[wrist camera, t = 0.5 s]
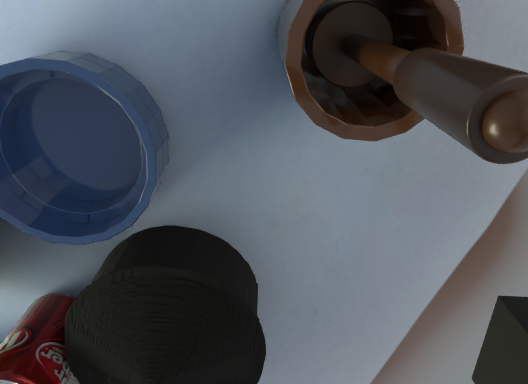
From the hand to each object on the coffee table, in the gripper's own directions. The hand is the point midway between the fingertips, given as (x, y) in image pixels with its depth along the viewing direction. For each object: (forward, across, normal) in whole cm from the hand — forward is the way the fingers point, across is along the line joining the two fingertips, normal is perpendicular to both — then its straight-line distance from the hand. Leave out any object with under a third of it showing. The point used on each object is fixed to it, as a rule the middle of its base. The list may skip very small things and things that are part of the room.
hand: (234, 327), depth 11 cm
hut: (+30, -7, -22) cm, 38 cm away
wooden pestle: (+21, +6, +6) cm, 23 cm away
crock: (+30, +6, +6) cm, 31 cm away
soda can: (+30, -20, -26) cm, 45 cm away
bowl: (+30, -16, -5) cm, 34 cm away
